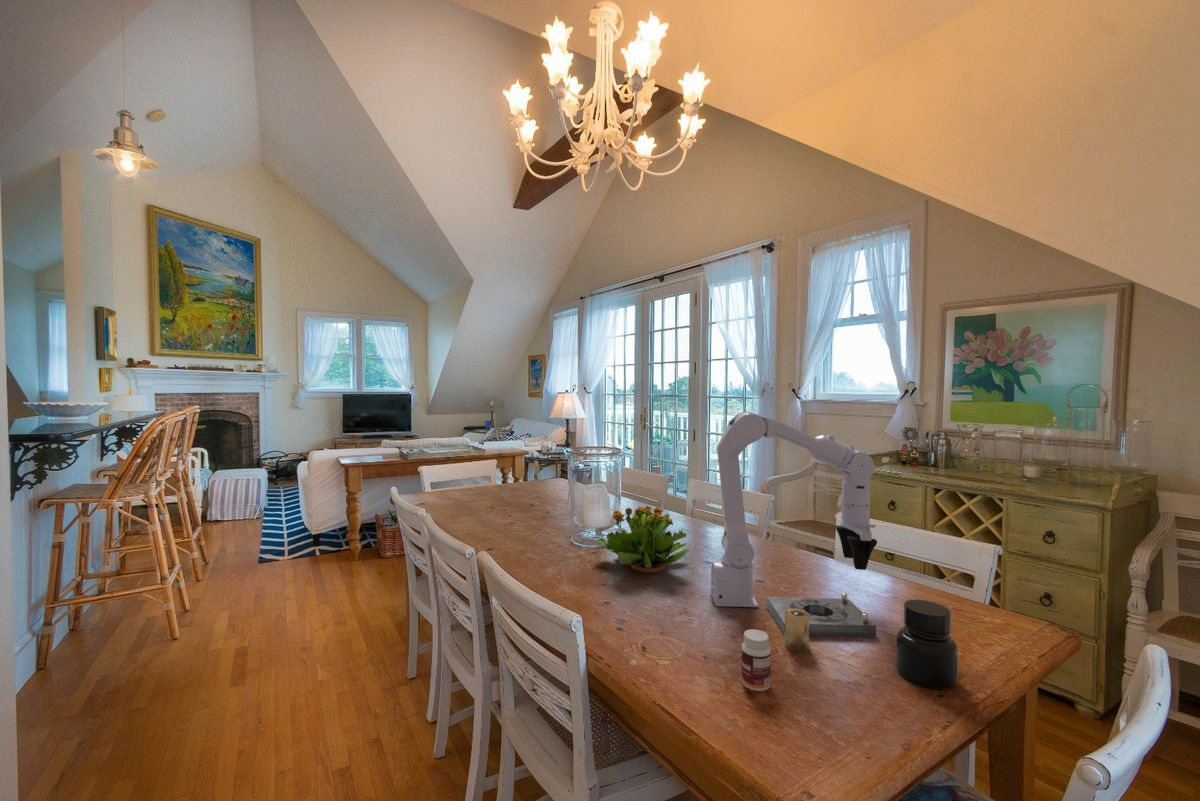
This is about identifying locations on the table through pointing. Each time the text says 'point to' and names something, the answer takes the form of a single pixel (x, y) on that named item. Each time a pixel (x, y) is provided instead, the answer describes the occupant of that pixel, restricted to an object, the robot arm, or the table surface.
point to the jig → (825, 616)
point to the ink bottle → (927, 646)
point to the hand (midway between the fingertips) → (854, 563)
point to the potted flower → (645, 540)
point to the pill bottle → (756, 660)
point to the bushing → (797, 630)
